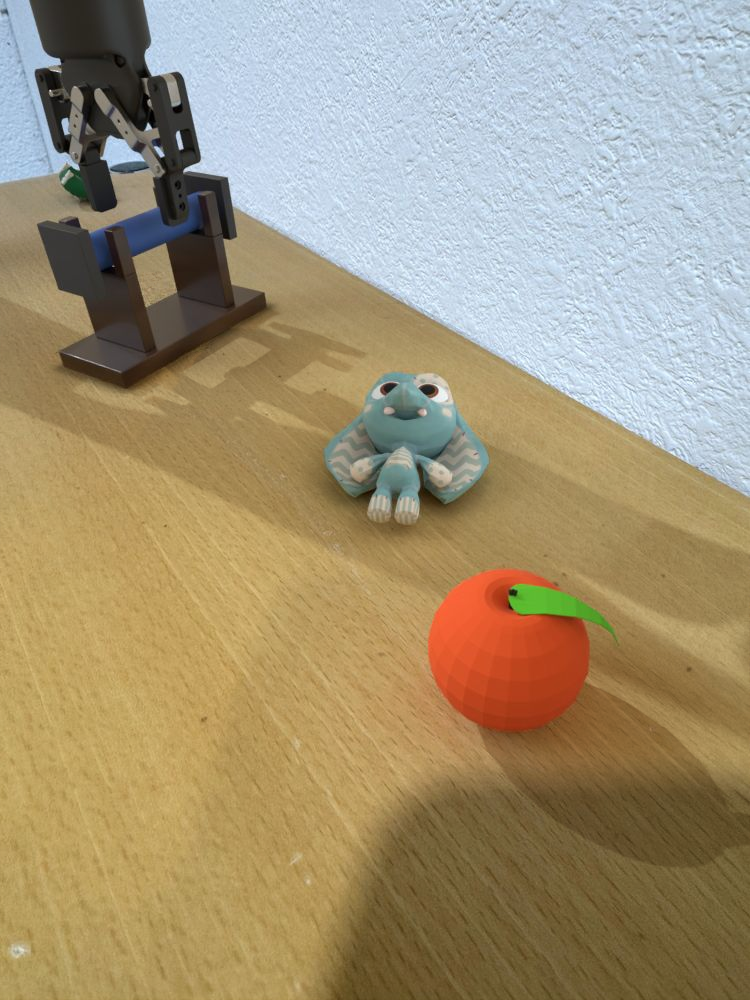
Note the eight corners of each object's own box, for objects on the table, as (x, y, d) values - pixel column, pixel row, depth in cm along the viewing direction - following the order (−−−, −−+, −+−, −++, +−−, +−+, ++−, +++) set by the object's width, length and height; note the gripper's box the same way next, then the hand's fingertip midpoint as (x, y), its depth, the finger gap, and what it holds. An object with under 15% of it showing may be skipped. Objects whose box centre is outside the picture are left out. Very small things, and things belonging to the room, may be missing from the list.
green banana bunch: (92, 200, 106) (54, 175, 102) (105, 179, 105) (67, 153, 101) (99, 217, 99) (58, 191, 95) (113, 194, 98) (72, 167, 94)
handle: (199, 229, 66) (188, 170, 63) (237, 237, 64) (228, 177, 61) (58, 290, 56) (36, 223, 52) (98, 301, 54) (77, 233, 50)
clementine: (596, 647, 34) (621, 541, 30) (608, 777, 29) (642, 673, 25) (434, 631, 36) (436, 527, 31) (419, 753, 30) (418, 649, 26)
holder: (126, 388, 57) (82, 247, 49) (63, 366, 60) (14, 231, 53) (267, 306, 68) (248, 182, 61) (207, 292, 72) (183, 172, 64)
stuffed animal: (290, 465, 38) (333, 332, 46) (309, 543, 44) (345, 412, 51) (488, 479, 36) (498, 337, 44) (482, 558, 42) (492, 420, 49)
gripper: (195, -35, 46) (235, 215, 57) (59, -31, 53) (117, 193, 63) (106, -28, 42) (167, 244, 52) (-32, -25, 48) (47, 217, 58)
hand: (140, 216), depth 57 cm, fingers open, 8 cm apart
